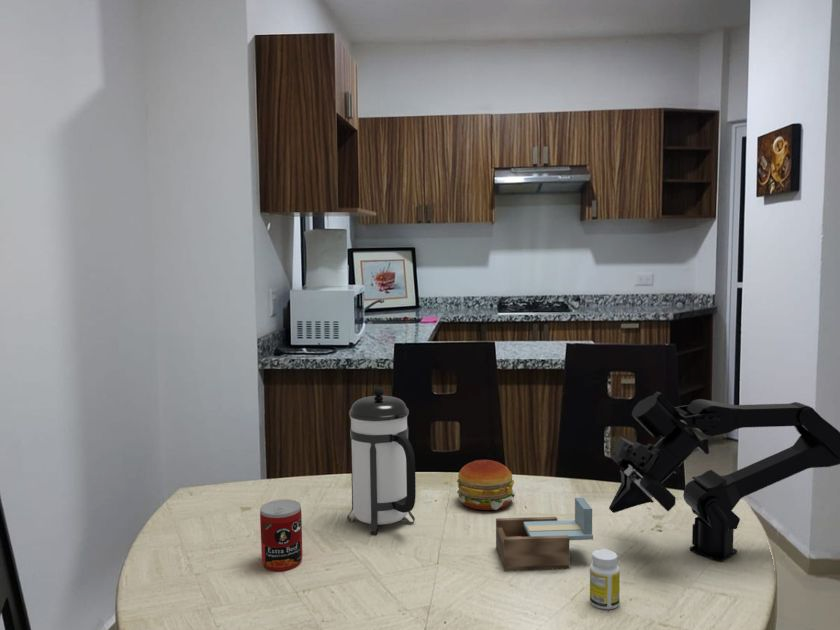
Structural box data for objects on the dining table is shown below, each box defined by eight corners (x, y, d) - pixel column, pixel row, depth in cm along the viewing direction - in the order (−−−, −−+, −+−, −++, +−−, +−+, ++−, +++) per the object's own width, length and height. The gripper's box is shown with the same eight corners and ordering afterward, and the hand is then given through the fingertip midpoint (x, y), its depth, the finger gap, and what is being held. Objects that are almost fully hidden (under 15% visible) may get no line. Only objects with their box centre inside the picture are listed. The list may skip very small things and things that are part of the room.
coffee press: (334, 534, 143) (331, 393, 140) (359, 506, 159) (356, 378, 156) (415, 542, 139) (413, 396, 136) (432, 512, 154) (431, 381, 152)
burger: (449, 496, 165) (449, 456, 164) (502, 490, 168) (502, 451, 167) (467, 517, 152) (467, 473, 151) (524, 510, 155) (524, 467, 154)
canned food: (262, 574, 126) (260, 516, 125) (260, 556, 133) (258, 501, 132) (304, 568, 128) (303, 511, 127) (300, 551, 135) (299, 497, 134)
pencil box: (556, 545, 136) (556, 516, 136) (569, 569, 126) (569, 537, 126) (496, 547, 136) (495, 518, 135) (504, 571, 126) (504, 539, 125)
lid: (581, 523, 135) (582, 496, 134) (593, 539, 127) (593, 510, 127) (523, 525, 134) (523, 497, 134) (531, 541, 127) (531, 512, 126)
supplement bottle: (614, 595, 116) (614, 547, 116) (623, 609, 112) (624, 560, 111) (586, 596, 116) (586, 548, 116) (594, 610, 112) (594, 561, 111)
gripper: (623, 412, 139) (569, 467, 139) (660, 437, 120) (596, 500, 121) (660, 449, 140) (606, 503, 140) (702, 480, 121) (639, 541, 122)
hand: (611, 510), depth 131 cm, fingers closed
